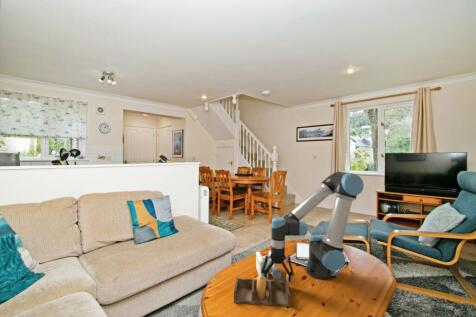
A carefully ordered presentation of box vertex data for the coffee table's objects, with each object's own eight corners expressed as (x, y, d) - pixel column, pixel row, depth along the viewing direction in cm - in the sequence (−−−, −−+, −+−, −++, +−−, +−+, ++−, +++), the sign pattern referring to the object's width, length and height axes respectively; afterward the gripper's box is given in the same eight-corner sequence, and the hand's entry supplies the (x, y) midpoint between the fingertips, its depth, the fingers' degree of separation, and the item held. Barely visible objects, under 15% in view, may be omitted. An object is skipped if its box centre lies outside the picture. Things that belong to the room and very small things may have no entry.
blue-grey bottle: (281, 284, 123) (281, 266, 123) (282, 289, 119) (282, 270, 119) (272, 284, 124) (273, 266, 124) (273, 288, 119) (273, 270, 119)
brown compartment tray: (286, 291, 117) (286, 280, 117) (289, 306, 105) (290, 294, 105) (236, 288, 119) (236, 277, 119) (233, 302, 107) (234, 290, 107)
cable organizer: (277, 280, 128) (277, 260, 128) (259, 281, 127) (259, 260, 127) (271, 267, 142) (271, 249, 142) (255, 268, 142) (255, 250, 142)
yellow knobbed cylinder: (256, 293, 113) (256, 273, 113) (265, 293, 112) (265, 273, 113) (256, 298, 108) (257, 278, 108) (266, 299, 108) (266, 278, 108)
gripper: (297, 244, 124) (297, 283, 124) (257, 242, 126) (256, 281, 126) (300, 250, 116) (299, 291, 116) (257, 247, 118) (256, 288, 118)
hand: (277, 286), depth 121 cm, fingers open, 10 cm apart
